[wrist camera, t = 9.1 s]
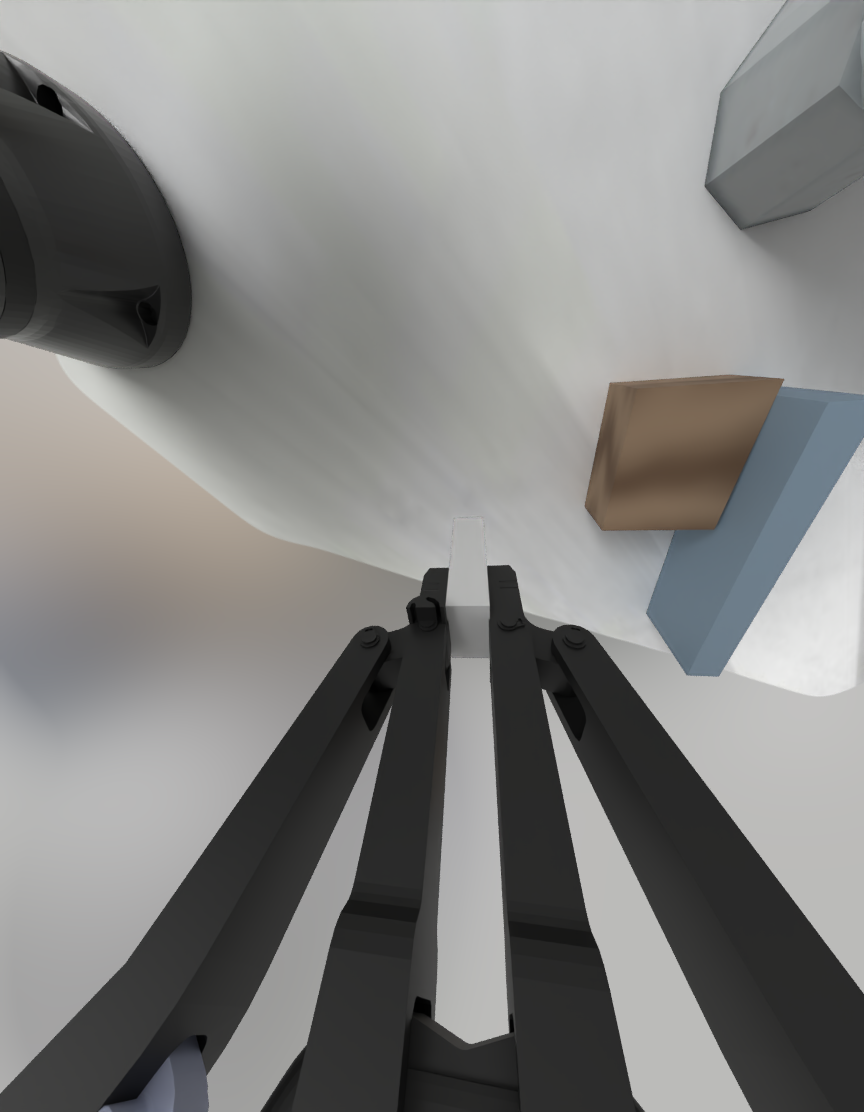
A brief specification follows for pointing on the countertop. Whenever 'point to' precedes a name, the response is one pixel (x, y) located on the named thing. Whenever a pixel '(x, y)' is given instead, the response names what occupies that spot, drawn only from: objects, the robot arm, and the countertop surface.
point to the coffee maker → (792, 115)
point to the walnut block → (675, 450)
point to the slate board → (754, 527)
